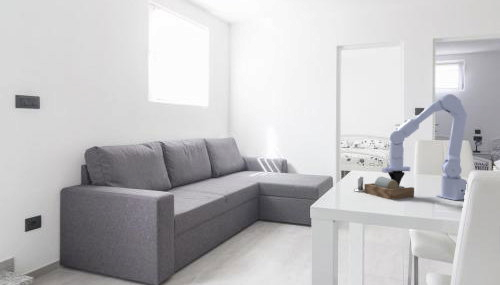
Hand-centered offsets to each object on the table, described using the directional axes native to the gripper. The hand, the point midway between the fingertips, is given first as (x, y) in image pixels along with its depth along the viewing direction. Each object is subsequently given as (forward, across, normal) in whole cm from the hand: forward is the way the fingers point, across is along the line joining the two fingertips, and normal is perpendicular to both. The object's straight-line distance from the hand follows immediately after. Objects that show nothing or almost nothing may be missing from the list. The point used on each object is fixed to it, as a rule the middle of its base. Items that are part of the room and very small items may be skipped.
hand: (396, 187), depth 165 cm
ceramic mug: (+3, +3, -1) cm, 5 cm away
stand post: (+3, +10, -12) cm, 16 cm away
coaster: (+3, -11, -12) cm, 17 cm away
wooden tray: (+3, +4, 0) cm, 5 cm away
